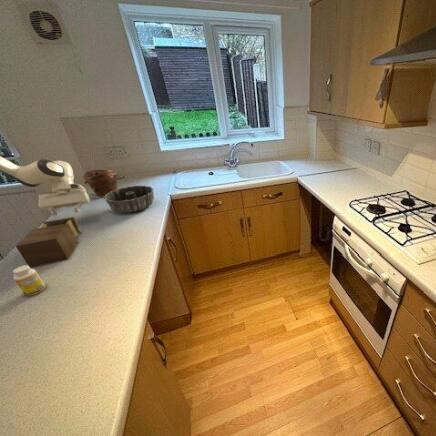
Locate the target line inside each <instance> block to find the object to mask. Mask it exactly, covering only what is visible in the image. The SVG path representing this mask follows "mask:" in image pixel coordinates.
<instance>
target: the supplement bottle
mask: <svg viewBox="0 0 436 436" xmlns="http://www.w3.org/2000/svg"><path fill="white" fill-rule="evenodd" d="M12 273H13V280H14V281H15V283H16V284H17V286H18V287H19V289H20V290H21V292H23V294H24V295H25V296H34V295H36V294H39V293H41V292H42V291H43V290H45V288H46V284H45V283H44V281H43V280H42V279H41V277H40V275H39V274H38V272H37V271H36V269H34V268H31V267H29V266H28V264H27V265H22V266H21V265H20V266H19V267H16V268H14V269H13V270H12Z"/></svg>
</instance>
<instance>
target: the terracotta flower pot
mask: <svg viewBox="0 0 436 436" xmlns="http://www.w3.org/2000/svg"><path fill="white" fill-rule="evenodd" d="M117 176H118V173H117V172H116V170H114V169H107V170H106V169H105V170H104V169H91V170H87V171H86V172H85V173H84V174H83V181H84V185H88V186H89V187H90V188H91V189H92V191H93V193H94V194H95V196H97V197H103V198H104V197H105V195H106V194H108V193H110V192H111V191H115V190H117V189H118V185H117V184H118V181H117Z"/></svg>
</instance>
